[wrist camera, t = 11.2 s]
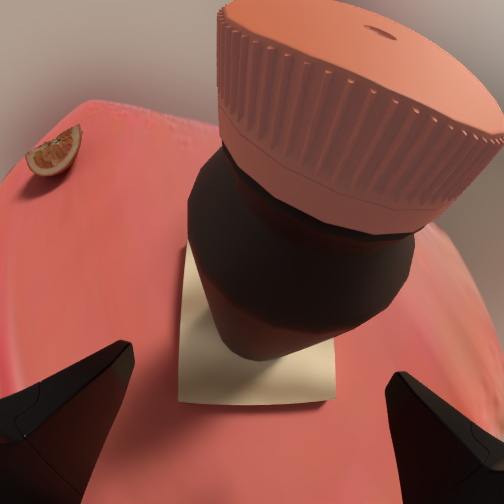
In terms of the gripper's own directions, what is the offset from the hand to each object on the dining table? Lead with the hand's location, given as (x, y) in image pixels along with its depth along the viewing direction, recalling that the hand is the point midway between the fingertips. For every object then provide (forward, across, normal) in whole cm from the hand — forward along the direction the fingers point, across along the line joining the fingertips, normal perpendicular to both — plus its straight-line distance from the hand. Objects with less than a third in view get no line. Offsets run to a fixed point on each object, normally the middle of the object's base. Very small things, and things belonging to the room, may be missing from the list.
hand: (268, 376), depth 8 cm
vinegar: (+12, 0, +6) cm, 13 cm away
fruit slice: (+24, +27, -4) cm, 36 cm away
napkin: (+13, 0, +6) cm, 14 cm away
